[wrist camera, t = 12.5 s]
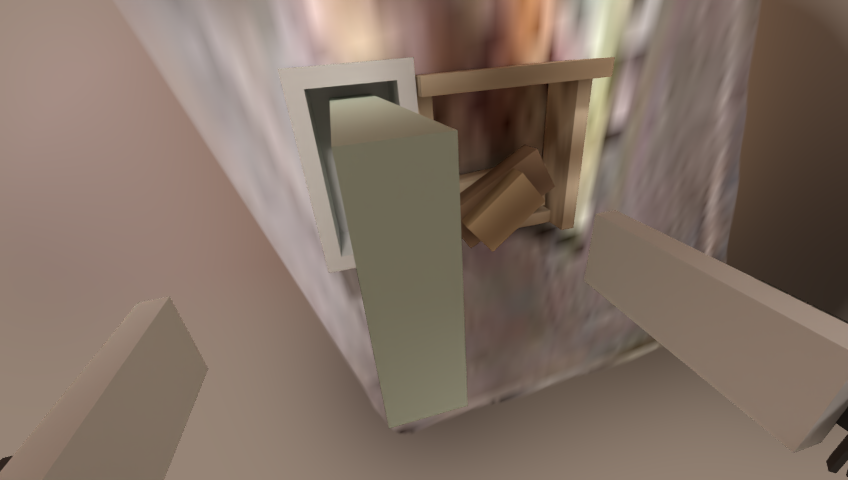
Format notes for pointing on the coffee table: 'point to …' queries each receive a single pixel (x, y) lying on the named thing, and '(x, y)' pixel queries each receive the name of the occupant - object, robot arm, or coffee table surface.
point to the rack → (562, 118)
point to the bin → (313, 134)
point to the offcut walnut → (520, 160)
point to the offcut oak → (503, 209)
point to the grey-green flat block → (405, 249)
